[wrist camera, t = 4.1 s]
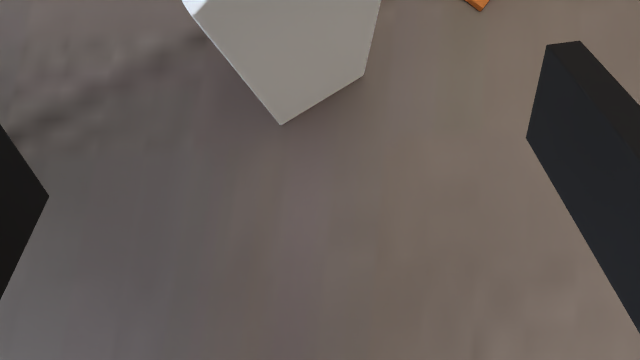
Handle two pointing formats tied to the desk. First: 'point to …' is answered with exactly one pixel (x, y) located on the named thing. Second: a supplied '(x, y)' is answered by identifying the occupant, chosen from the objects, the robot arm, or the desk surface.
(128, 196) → the desk surface
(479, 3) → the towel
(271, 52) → the milk
